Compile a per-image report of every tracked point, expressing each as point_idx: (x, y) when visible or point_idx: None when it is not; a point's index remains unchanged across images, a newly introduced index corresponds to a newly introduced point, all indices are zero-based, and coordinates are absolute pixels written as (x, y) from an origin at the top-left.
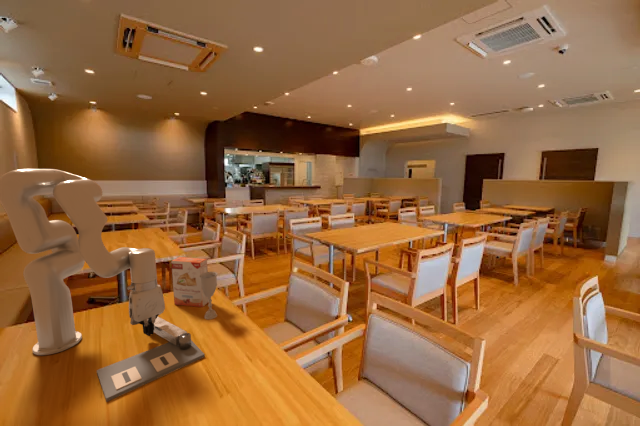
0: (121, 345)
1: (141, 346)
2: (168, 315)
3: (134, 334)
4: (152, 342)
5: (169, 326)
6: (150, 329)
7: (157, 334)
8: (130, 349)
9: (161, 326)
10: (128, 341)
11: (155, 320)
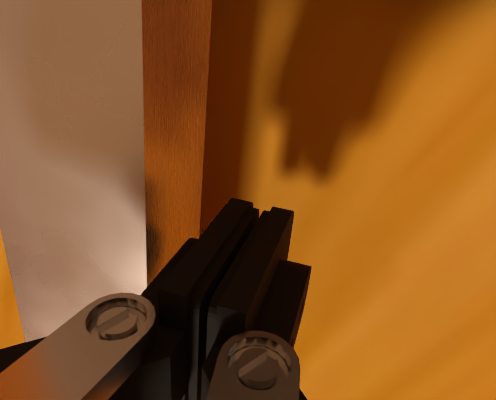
0: (442, 386)
1: (388, 207)
2: (6, 345)
3: None
4: (285, 160)
5: (15, 18)
6: (240, 253)
7: (202, 170)
8: (476, 268)
9: (100, 159)
10: (368, 374)
11: None
